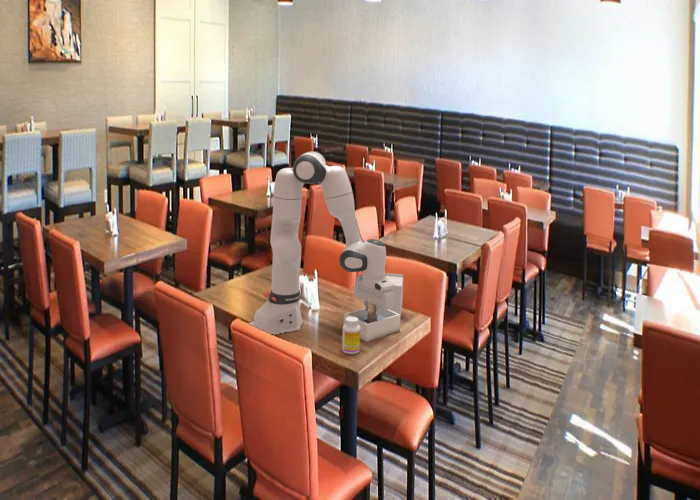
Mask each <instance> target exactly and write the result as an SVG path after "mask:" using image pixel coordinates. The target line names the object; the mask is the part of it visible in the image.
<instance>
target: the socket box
mask: <svg viewBox="0 0 700 500" xmlns="http://www.w3.org/2000/svg"><path fill="white" fill-rule="evenodd" d="M367 313H368V311H366V310H365V307H362V308H359V309H356V310H352V311H349V312H345V313H343V326H344V325H345V324H346V322H345V321H346V318H347V317H356V318H358V325H359V326H360V328H361V330H360V340H362V341H364V342H370V341H373V340H375V339H379V338H382V337H385V336H388V335H391V334H395V333H397V332H400V330H401V316H402V314H401V315H400V314H398V313H396V312H393V311H391V310H389V309H387V310H385V309H383V308H382V309H381V310H380V315H378V316H377V321H375V322H372V323H367Z"/></svg>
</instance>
